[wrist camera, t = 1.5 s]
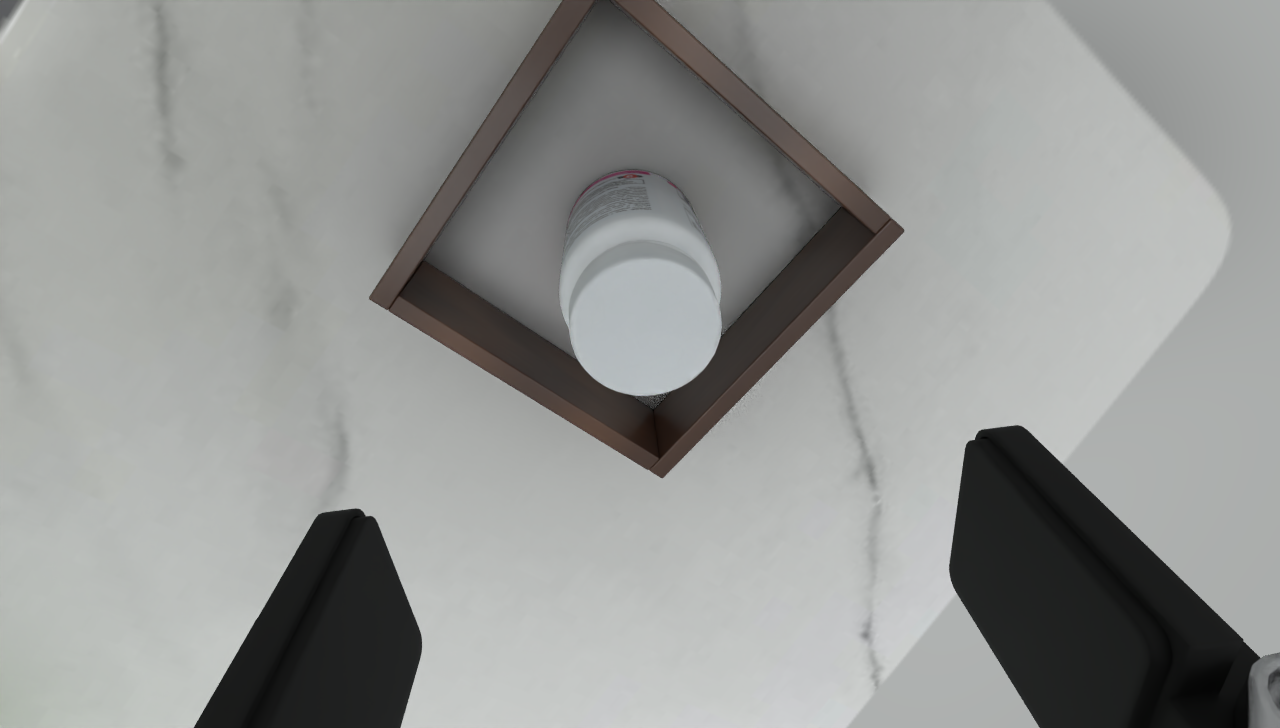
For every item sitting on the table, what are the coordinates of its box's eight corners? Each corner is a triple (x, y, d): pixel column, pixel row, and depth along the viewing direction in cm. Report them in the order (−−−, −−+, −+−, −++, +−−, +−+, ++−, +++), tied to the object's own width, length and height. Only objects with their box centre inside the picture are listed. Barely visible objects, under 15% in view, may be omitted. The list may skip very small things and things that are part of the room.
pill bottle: (551, 271, 25) (529, 381, 18) (590, 147, 23) (584, 213, 15) (668, 308, 26) (695, 427, 18) (716, 193, 24) (767, 276, 16)
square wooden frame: (397, 262, 24) (367, 298, 21) (597, -44, 20) (596, -53, 17) (655, 429, 29) (662, 479, 25) (867, 203, 24) (906, 230, 21)
